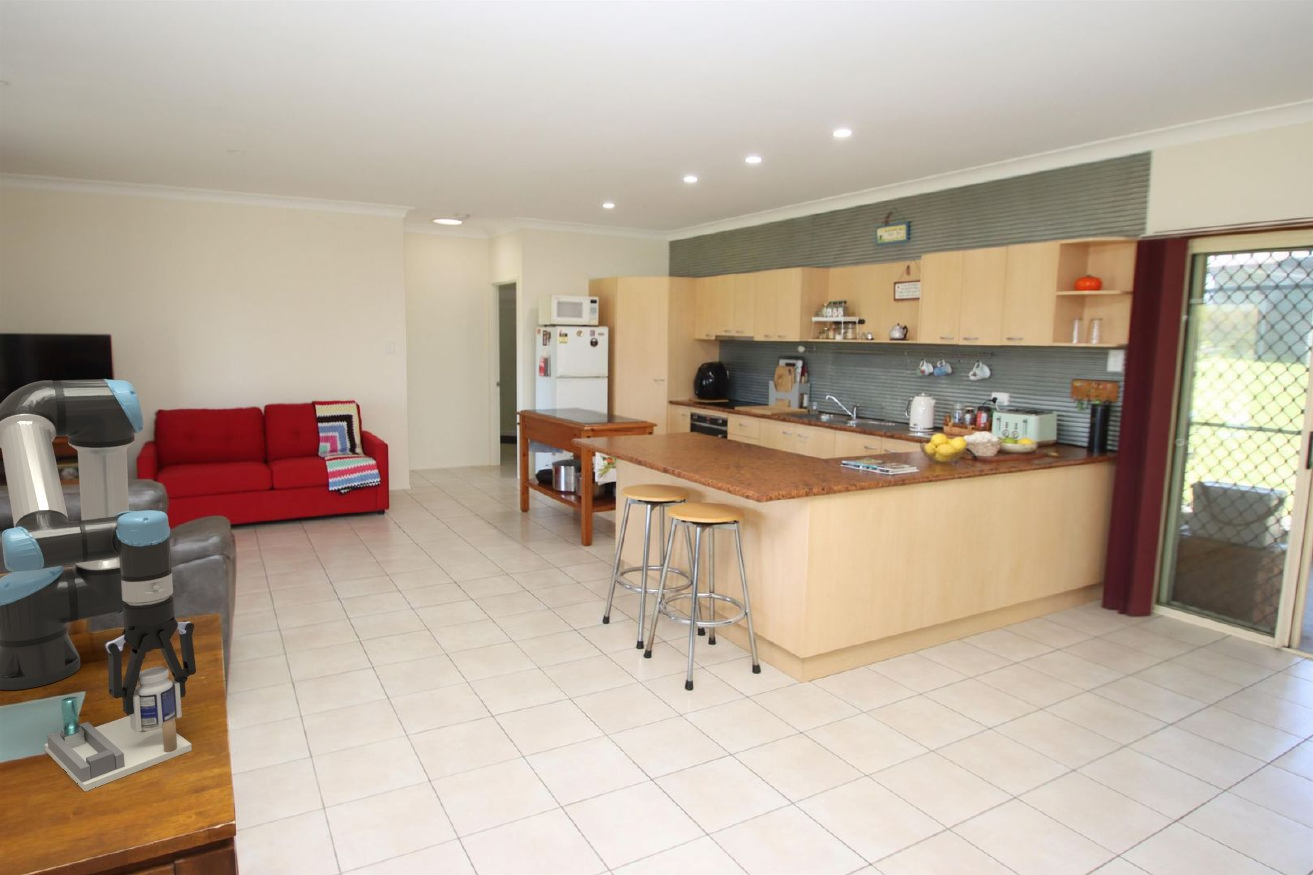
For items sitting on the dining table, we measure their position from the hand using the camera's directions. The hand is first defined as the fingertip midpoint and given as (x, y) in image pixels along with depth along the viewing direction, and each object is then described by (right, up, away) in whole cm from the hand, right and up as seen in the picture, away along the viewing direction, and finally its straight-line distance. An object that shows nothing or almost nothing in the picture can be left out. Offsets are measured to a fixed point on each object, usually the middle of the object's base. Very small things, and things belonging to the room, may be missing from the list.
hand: (156, 721), depth 136 cm
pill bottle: (0, -1, 0) cm, 1 cm away
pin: (-14, -3, -2) cm, 14 cm away
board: (-6, -5, -1) cm, 8 cm away
